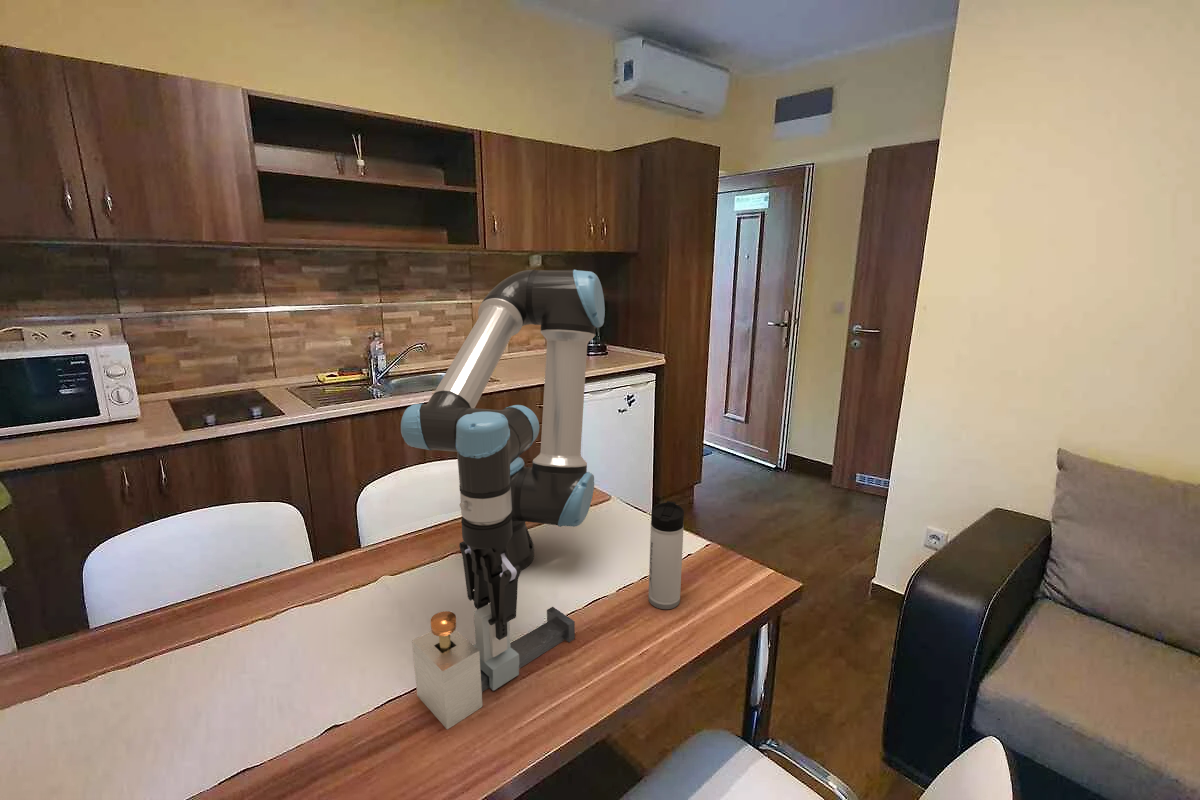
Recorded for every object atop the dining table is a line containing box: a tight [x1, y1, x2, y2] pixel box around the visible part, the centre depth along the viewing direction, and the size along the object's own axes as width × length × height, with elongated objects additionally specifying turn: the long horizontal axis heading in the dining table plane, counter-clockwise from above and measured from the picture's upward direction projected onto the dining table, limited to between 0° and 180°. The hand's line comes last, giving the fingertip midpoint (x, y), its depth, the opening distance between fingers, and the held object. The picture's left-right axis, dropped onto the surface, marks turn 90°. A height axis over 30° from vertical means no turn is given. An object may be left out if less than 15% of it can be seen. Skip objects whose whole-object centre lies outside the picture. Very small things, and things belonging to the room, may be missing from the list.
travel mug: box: [647, 500, 685, 610], centre depth 108 cm, size 6×7×20 cm
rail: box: [411, 606, 576, 731], centre depth 91 cm, size 9×26×10 cm, turn 135°
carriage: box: [473, 603, 520, 692], centre depth 89 cm, size 7×5×12 cm
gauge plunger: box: [430, 610, 458, 653], centre depth 83 cm, size 4×4×9 cm
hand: (493, 647), depth 90 cm, fingers closed on carriage, 2 cm apart
